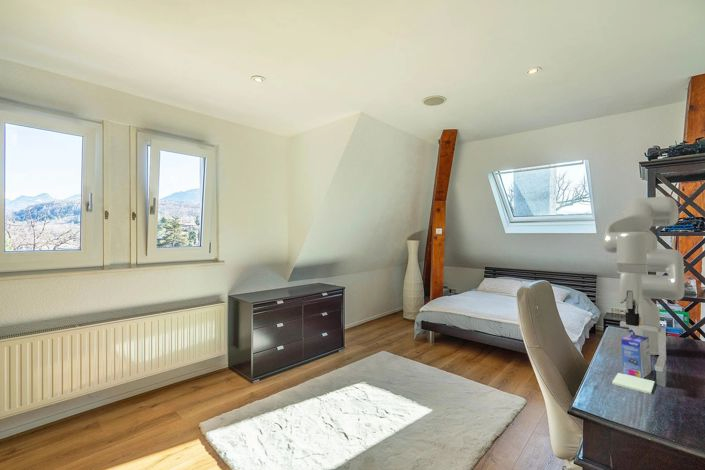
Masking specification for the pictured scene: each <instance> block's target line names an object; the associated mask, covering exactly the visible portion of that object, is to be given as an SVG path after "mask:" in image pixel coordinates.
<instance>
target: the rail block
mask: <svg viewBox="0 0 705 470" xmlns="http://www.w3.org/2000/svg"><path fill="white" fill-rule="evenodd" d="M655 373H656V375H655V376H656V378H655V379H656V381H655V383H656V386H659V387H666V386H667V364H666V363H665V365H664V368H663V371H662V372H660V371H656V370H655Z"/></svg>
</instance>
